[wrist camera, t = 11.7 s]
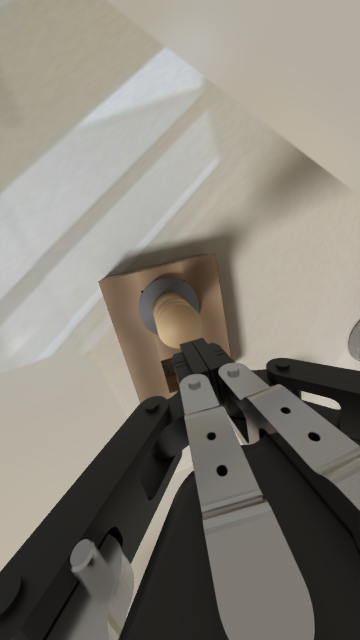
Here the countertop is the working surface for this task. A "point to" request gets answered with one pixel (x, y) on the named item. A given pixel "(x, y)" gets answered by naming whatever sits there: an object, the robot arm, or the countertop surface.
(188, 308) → the oak peg
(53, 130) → the countertop surface
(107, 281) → the walnut board
